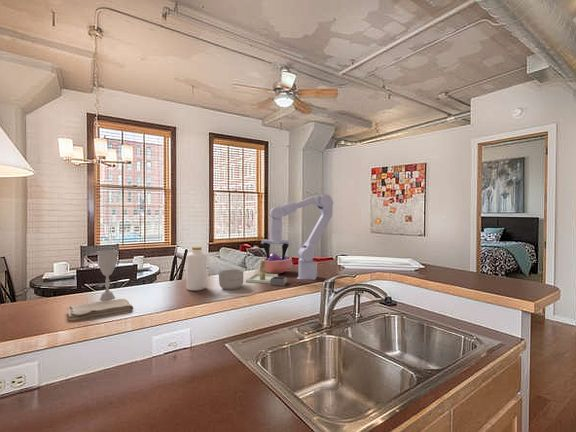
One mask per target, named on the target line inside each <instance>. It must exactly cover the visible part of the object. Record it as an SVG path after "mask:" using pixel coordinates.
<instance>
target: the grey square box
mask: <svg viewBox="0 0 576 432" xmlns="http://www.w3.org/2000/svg"><path fill="white" fill-rule="evenodd" d="M287 279H288V278H287V276H278V277H273V278H271V279H270V283H269V285H270V286H279V287H280V286H281V287H284V286H285V285H286V284H287V283H288V282H287V281H288V280H287Z"/></svg>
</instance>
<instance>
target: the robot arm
mask: <svg viewBox="0 0 576 432" xmlns="http://www.w3.org/2000/svg"><path fill="white" fill-rule="evenodd" d="M310 205H313V206H316V207H317V208H318V209H319V212H320V216H319V219H318V220H317V222H316V224H315V225H314V227H313V229H312V231H311V233H310V234H309V237H308V238H307V239H306V241H305V242H304V243H303V244H302V246H301V247H300V248H298V250H297V256H298V270H297V271H298V276H297V277H296V279H297V280H314V281H315V280H317V277H318V262H317V261H314V258H315V252H316V251H317V249H316V247H317V244H318V243H319V241H320V238H321V237H322V235H323V233H324V232H325V230H326V228H327V226H328V224H329V223H330V220H331V219H332V218H333V205H334V201H333V198H332V196H331V195H330V194H326V193H324V194H320V195H314V196H310V197H307V198H305V199H302V200H299V201H297V202H293V201H286V203H283V204H278V205H277V206H276V207H272V208H271V209H270V210H269V213H268V214H269V216H270V222H269V224H270V229H269V233H270V235H269V239H261V241H260V244H262V247H263V249H264V251H265V255H266V257H267V259H269V257H270V255H271V253H270V249H271V248H270V247H271V245H281V250H282V251H281V252H282V253H281V254H282V255H281V256H282V259H284V258H285V256H286V252H287V251H288V248H289V246H290V245H291V244H292V243H291V240H286V239H282V237H283V235H282V234H283V222H282V218H283V217H287V216H289V215H292V214H294V213H296V212H297V210H298V209H301V208H305V207H307V206H310Z"/></svg>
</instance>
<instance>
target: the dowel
mask: <svg viewBox="0 0 576 432" xmlns="http://www.w3.org/2000/svg"><path fill="white" fill-rule="evenodd" d="M259 273H260V280H265V274H266V270H265V261H264V260H261V261H260V260H259Z"/></svg>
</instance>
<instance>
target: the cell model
mask: <svg viewBox="0 0 576 432" xmlns="http://www.w3.org/2000/svg"><path fill="white" fill-rule="evenodd" d="M261 260H264V261H265V272H267V274H278V275H280V274H283V273H285V272H287V271H288V270H290V269H291V267H292V263H293V262H292V261H293V259H292V257H290V256H287V255H285V258H284V259H282V255H281V256H280V255H277V254H276V253H273V252H272V253H270V257H269V259H267V256H264V257H262V258H260V259H259V262H260V261H261Z"/></svg>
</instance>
